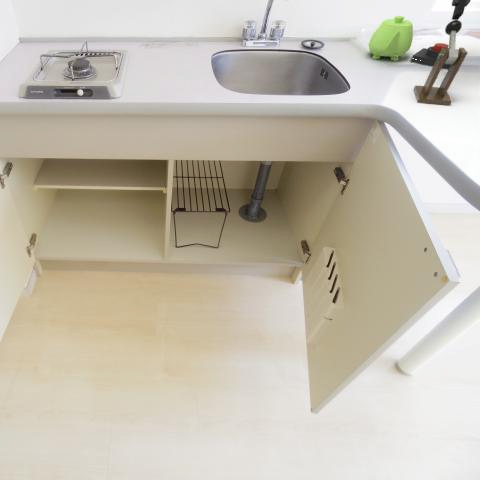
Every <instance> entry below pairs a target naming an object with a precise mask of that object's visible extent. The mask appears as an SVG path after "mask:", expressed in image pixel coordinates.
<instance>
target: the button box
mask: <svg viewBox="0 0 480 480" xmlns="http://www.w3.org/2000/svg"><path fill="white" fill-rule="evenodd" d="M433 48H434V45H433V46H429V47H427V48H425V47H423V48H421V49H420V50H418V51H417V52H416V53H414V54H413V55H412V57H411V59H410V61H409V62H410V63H414V64H420V65H424V66H430V67H433V66H434V64H435V62H436V59H437V57H438V55H439V53H440V51H435V50H433ZM448 50H449V47H448ZM412 58H414V59H412ZM415 59H417V60H415ZM420 60H421V61H420ZM450 66H451V64H443V66H442V68H441V69H446V70H448V69H449V67H450Z"/></svg>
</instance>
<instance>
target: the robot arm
mask: <svg viewBox="0 0 480 480" xmlns="http://www.w3.org/2000/svg"><path fill="white" fill-rule="evenodd" d="M470 3H471V0H451V7H454V9H453V12H452V17H451V21H454V20H459V19H460V18H462V16H463V15H464V12H465V9H466V7H467V6H468V5H469V4H470Z"/></svg>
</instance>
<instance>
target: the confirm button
mask: <svg viewBox="0 0 480 480" xmlns="http://www.w3.org/2000/svg"><path fill="white" fill-rule="evenodd" d="M433 46H434V48H433V50H435V51H441V49H442V47H447V48H449V44H447V43H441V42H436V43H435V44H434V45H433Z"/></svg>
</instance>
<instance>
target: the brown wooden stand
mask: <svg viewBox="0 0 480 480" xmlns="http://www.w3.org/2000/svg"><path fill="white" fill-rule="evenodd" d="M448 48H449V47H448ZM448 48H447V47H442V49H441V51H440V53H439V55H438V57H437V59H436V62H435V64H434V66H432V68H431V71H429V74H428V76H427V78H426V81H425V83H424V84H423V85H414V86H413V89H412V90H413V93H414V96H415V98H416V99H415V100H416V102H417V104H418V103H419V104H427V105H428V104H429V105H441V106H451V104H452V103H453V100H452V99H451V97H450V94H449V91H448V90H449V89H450V88H451V87H450V86H451V85H452V83H453V81H454V80H455V77H456V75H457V74H458V72H459V70H460V68H461V66H462V64H463V63H464V60H465V59H466V57H467V55H468V51H467V50H466V48H465V47H459V48H458V50H459V52H458V58H457V60H456V61H455V62H454V64H453V65H452V64H451V66H450V67H449V69H447V72H446V73H445V75H444V77H443V79H442V81H441V83H440V85H439V86H434V84H435V83H436V80H437V78H438V76H439V74H440V72H441V71H442V69H443V68H442V66H443V64H444V62H445V60H446V58H447V56H448V54H449V50H448Z"/></svg>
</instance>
